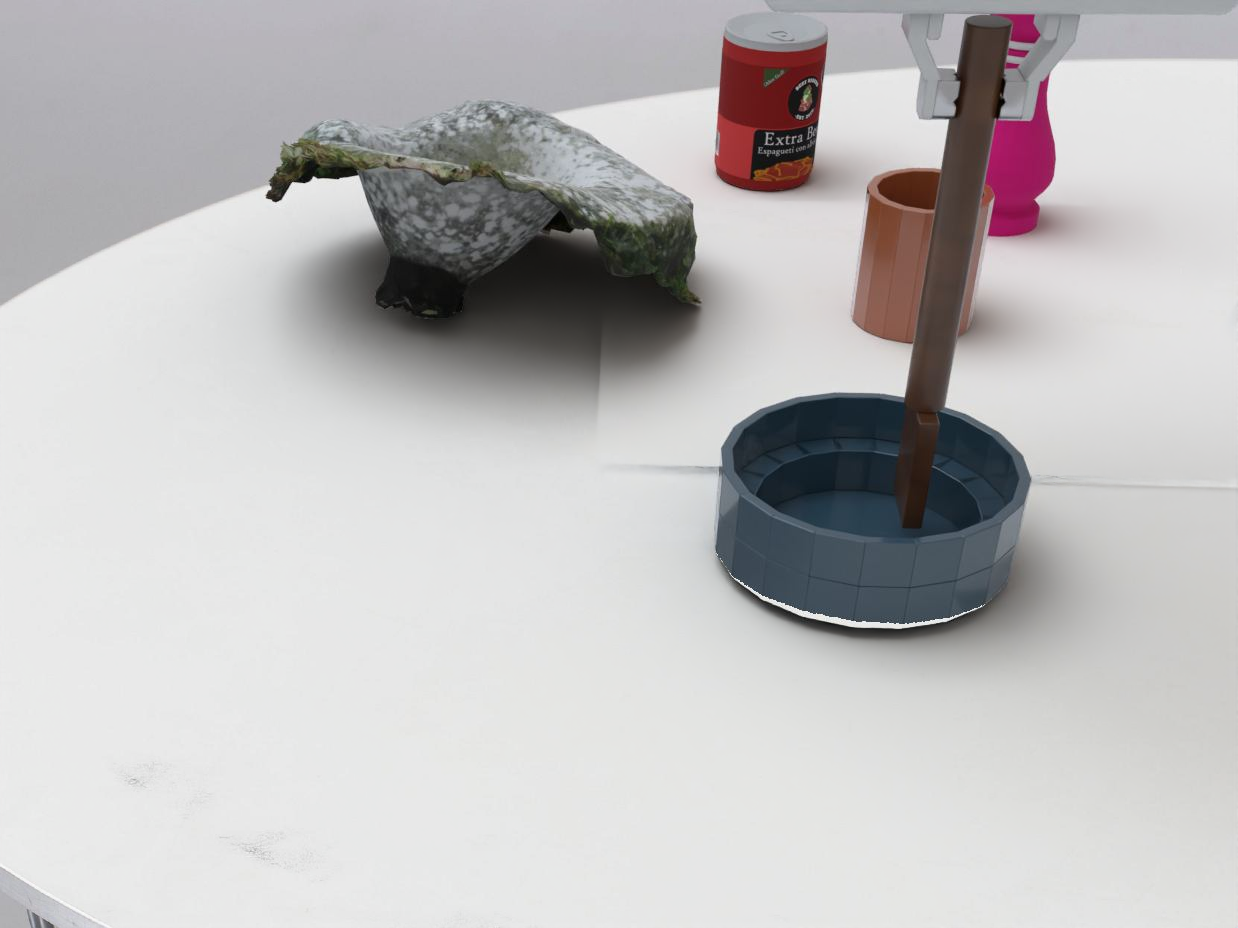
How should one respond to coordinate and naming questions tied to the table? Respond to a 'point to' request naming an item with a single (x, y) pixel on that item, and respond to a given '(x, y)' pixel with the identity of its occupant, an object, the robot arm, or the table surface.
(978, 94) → the long wooden stick
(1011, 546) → the bowl
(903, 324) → the crock
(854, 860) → the table surface
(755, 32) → the canned food
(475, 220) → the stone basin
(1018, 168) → the pepper mill
